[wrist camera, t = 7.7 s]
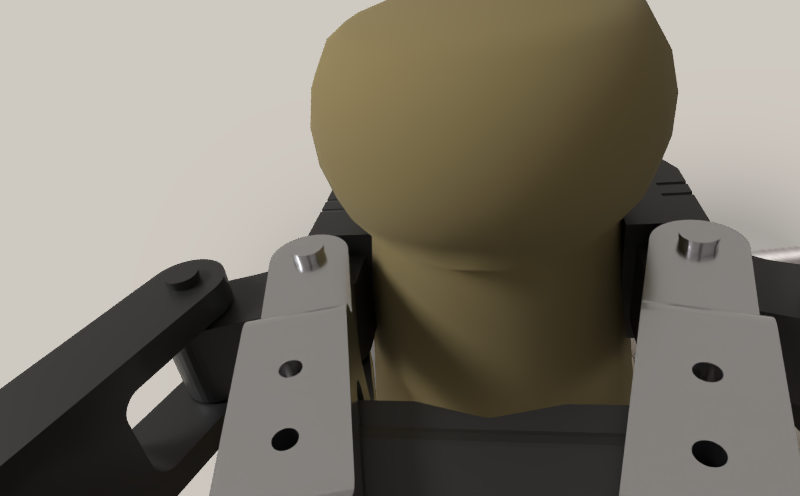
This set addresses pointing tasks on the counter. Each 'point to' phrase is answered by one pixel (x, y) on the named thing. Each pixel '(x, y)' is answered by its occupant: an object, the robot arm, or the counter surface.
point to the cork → (496, 189)
